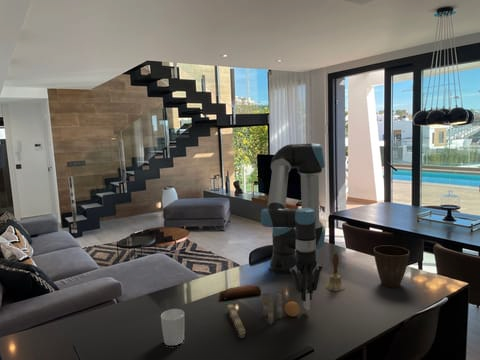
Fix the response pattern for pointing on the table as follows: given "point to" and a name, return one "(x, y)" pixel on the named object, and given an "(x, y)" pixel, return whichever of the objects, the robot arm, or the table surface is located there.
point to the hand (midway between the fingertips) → (306, 308)
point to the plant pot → (391, 264)
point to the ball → (292, 308)
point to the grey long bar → (236, 320)
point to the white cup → (173, 326)
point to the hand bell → (335, 277)
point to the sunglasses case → (240, 291)
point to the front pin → (279, 306)
